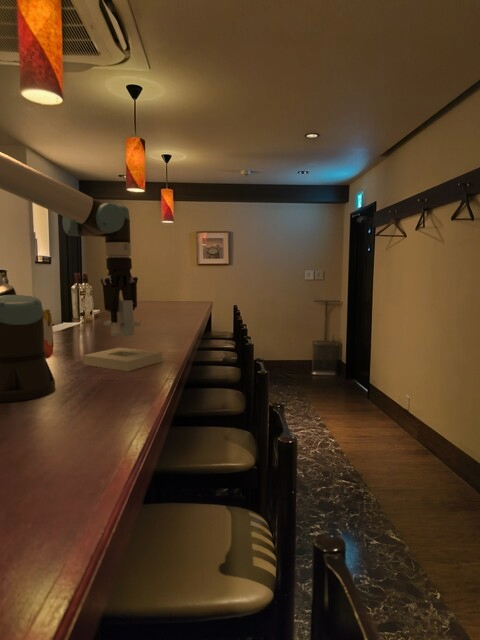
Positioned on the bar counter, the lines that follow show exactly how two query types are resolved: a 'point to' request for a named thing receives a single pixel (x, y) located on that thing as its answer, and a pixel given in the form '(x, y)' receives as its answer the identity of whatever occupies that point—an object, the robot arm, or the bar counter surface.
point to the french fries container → (48, 333)
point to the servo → (124, 319)
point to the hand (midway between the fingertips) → (122, 331)
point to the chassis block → (123, 359)
